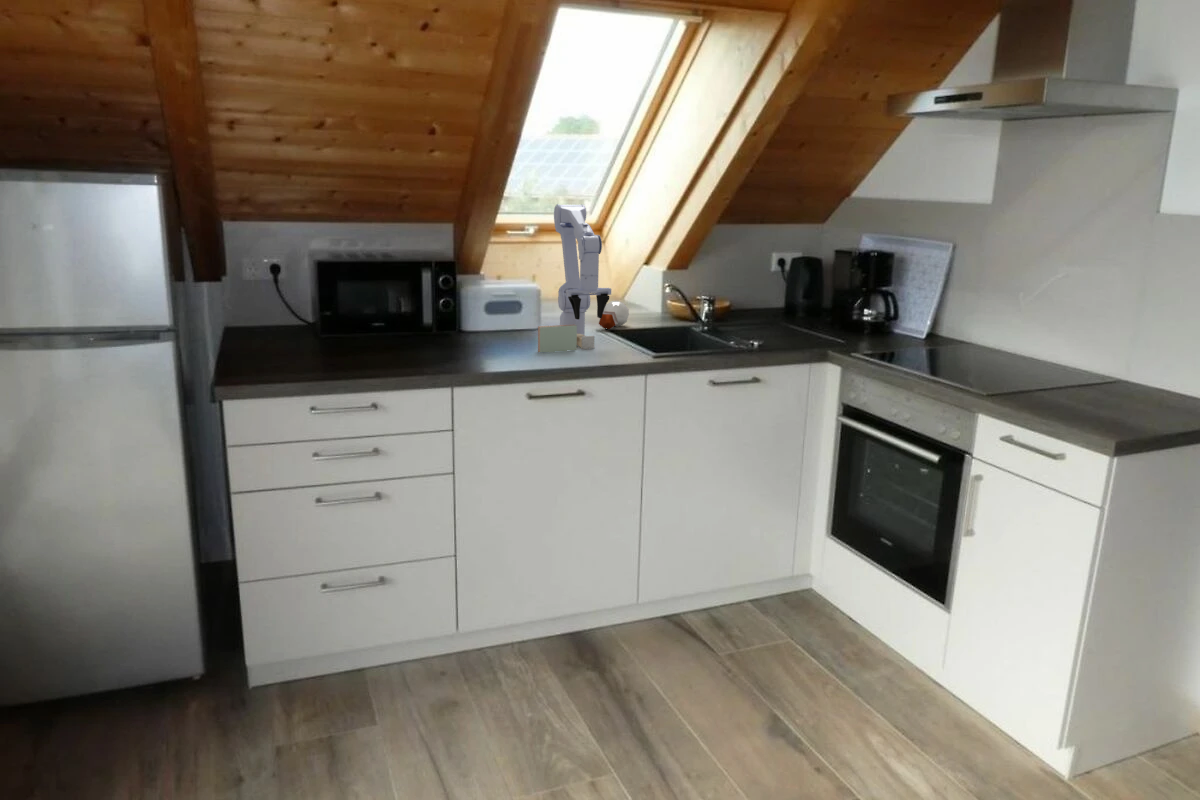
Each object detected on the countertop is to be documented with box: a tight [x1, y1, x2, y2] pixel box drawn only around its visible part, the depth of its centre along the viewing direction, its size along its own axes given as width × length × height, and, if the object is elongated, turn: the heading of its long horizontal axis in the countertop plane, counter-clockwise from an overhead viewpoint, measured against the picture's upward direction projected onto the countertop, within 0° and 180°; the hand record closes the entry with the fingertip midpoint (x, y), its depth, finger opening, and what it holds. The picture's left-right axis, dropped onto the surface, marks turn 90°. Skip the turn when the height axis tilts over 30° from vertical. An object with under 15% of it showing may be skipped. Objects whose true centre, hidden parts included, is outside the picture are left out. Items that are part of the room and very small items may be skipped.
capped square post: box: [577, 334, 595, 350], centre depth 280 cm, size 11×4×4 cm, turn 23°
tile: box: [537, 324, 578, 353], centre depth 271 cm, size 2×12×8 cm, turn 113°
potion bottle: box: [598, 300, 630, 330], centre depth 313 cm, size 9×10×15 cm
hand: (588, 318), depth 275 cm, fingers open, 7 cm apart
